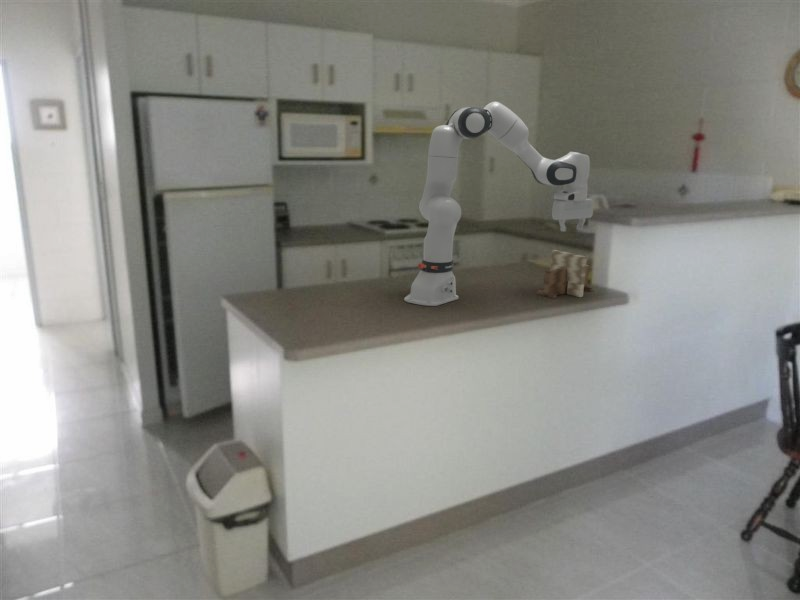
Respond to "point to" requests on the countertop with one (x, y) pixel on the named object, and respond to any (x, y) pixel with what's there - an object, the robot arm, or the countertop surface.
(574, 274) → the birch plate
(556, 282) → the wooden block row
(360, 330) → the countertop surface
